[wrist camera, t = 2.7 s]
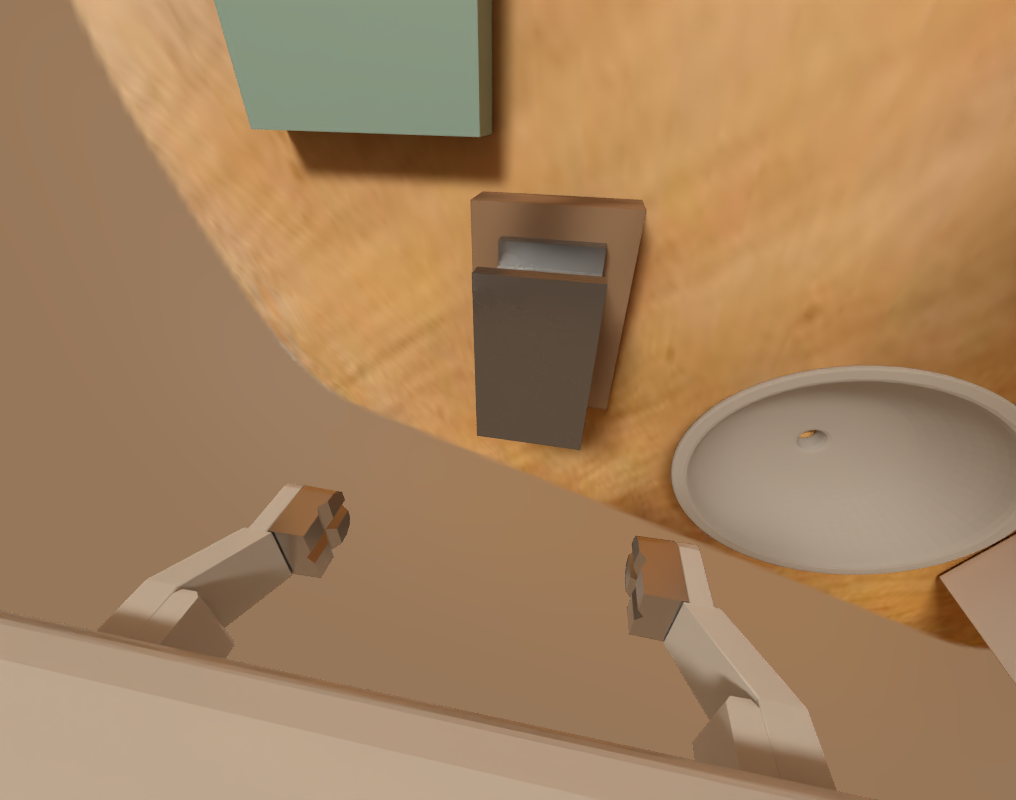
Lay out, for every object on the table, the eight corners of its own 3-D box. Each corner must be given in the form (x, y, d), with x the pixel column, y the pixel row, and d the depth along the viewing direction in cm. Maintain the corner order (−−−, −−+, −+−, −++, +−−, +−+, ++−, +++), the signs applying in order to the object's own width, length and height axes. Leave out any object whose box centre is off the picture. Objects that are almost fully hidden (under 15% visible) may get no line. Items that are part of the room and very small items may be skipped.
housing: (606, 243, 19) (607, 284, 15) (584, 385, 24) (580, 450, 19) (501, 235, 20) (471, 273, 15) (500, 375, 24) (477, 435, 20)
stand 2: (642, 200, 20) (646, 210, 18) (606, 386, 26) (606, 409, 24) (483, 191, 21) (470, 200, 19) (485, 372, 28) (476, 393, 26)
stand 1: (491, -128, 15) (474, -164, 13) (492, 134, 20) (479, 136, 18) (225, -112, 16) (172, -142, 14) (284, 126, 21) (251, 129, 19)
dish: (622, 461, 30) (625, 515, 26) (742, 276, 21) (774, 316, 17) (849, 538, 30) (887, 604, 26) (1059, 386, 21) (1165, 450, 17)
